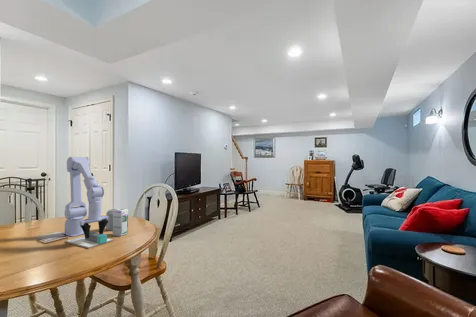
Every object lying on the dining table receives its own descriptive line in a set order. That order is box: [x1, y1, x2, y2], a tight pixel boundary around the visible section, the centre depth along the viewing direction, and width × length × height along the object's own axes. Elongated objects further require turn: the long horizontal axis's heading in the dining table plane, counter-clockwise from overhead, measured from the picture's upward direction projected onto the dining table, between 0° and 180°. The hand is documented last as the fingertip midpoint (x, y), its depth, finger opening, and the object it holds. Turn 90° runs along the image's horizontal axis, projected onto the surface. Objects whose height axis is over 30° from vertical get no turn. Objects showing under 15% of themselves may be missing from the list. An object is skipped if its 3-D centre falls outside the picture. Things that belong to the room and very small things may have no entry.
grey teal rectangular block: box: [85, 231, 108, 244], centre depth 129 cm, size 12×4×4 cm, turn 64°
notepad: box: [64, 235, 115, 250], centre depth 129 cm, size 19×14×1 cm
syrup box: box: [112, 208, 129, 237], centre depth 143 cm, size 6×6×14 cm
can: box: [105, 208, 117, 232], centre depth 153 cm, size 8×8×12 cm
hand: (94, 236), depth 130 cm, fingers open, 7 cm apart
